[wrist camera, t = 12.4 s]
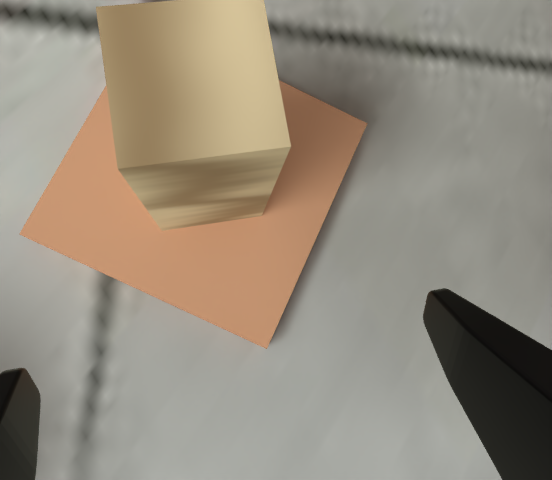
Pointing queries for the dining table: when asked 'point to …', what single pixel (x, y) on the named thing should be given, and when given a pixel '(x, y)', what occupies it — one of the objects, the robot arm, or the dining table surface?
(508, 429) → the robot arm
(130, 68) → the maple block
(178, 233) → the terracotta tile
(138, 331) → the dining table surface
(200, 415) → the dining table surface
